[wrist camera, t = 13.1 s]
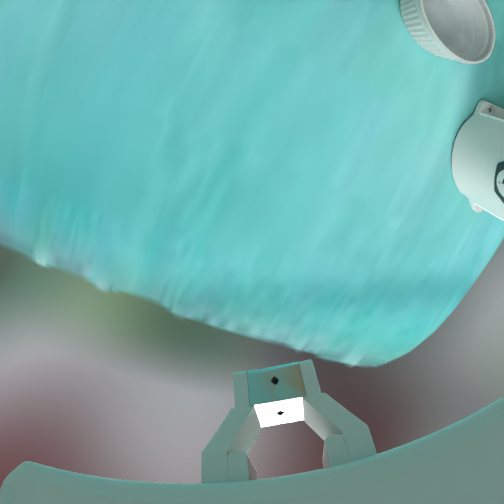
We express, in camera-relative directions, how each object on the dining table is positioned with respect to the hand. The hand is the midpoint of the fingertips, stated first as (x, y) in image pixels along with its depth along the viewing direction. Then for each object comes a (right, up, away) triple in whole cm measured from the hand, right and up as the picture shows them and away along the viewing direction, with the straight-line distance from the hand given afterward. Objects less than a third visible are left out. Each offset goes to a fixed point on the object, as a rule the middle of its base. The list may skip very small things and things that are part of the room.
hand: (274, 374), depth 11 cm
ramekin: (+23, +36, +15) cm, 46 cm away
